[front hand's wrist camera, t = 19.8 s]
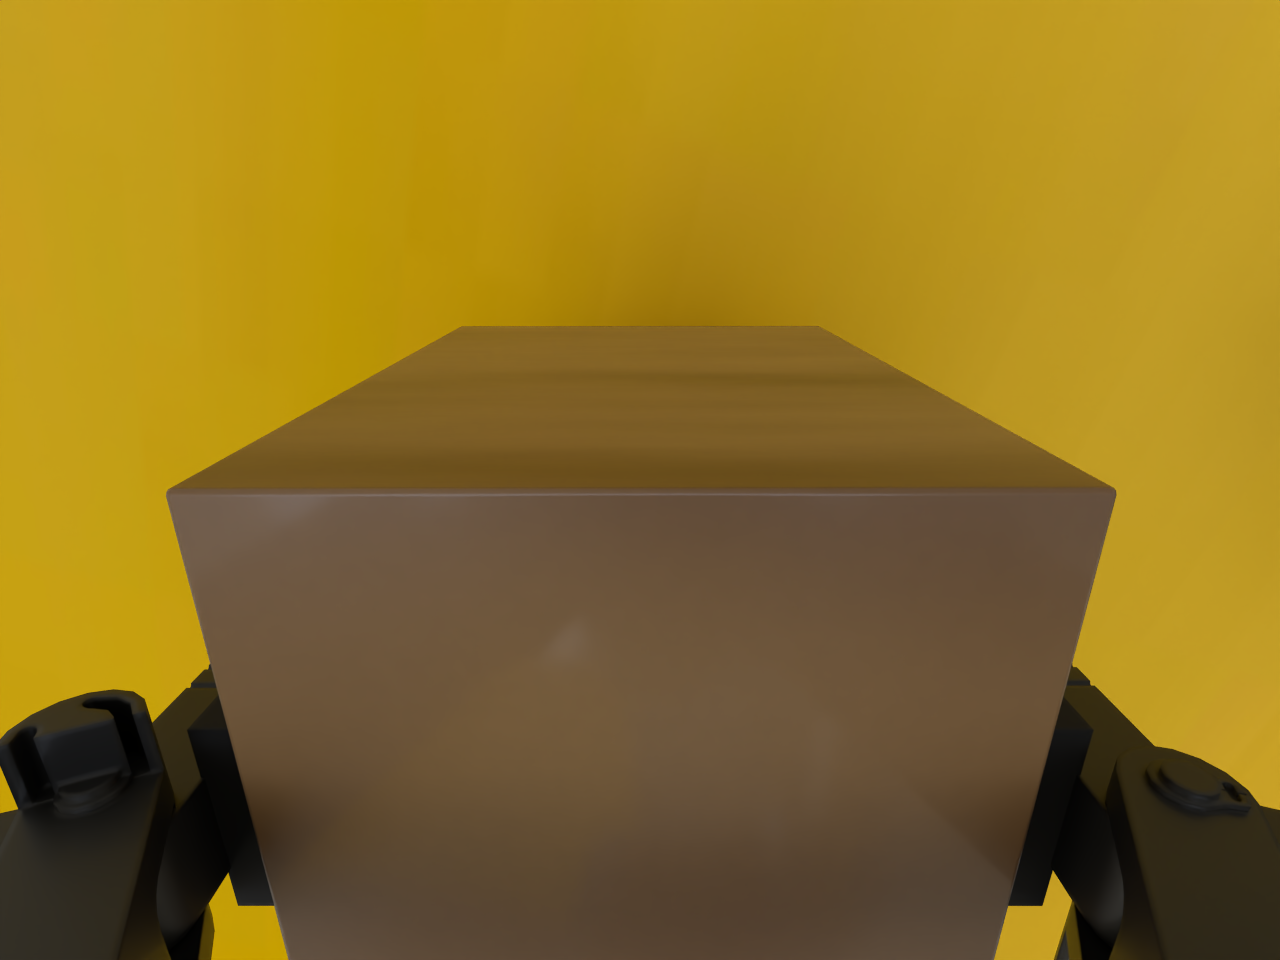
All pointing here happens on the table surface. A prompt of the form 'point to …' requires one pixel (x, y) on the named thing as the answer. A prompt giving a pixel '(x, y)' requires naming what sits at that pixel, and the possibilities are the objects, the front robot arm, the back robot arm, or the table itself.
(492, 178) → the table surface
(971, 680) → the block
